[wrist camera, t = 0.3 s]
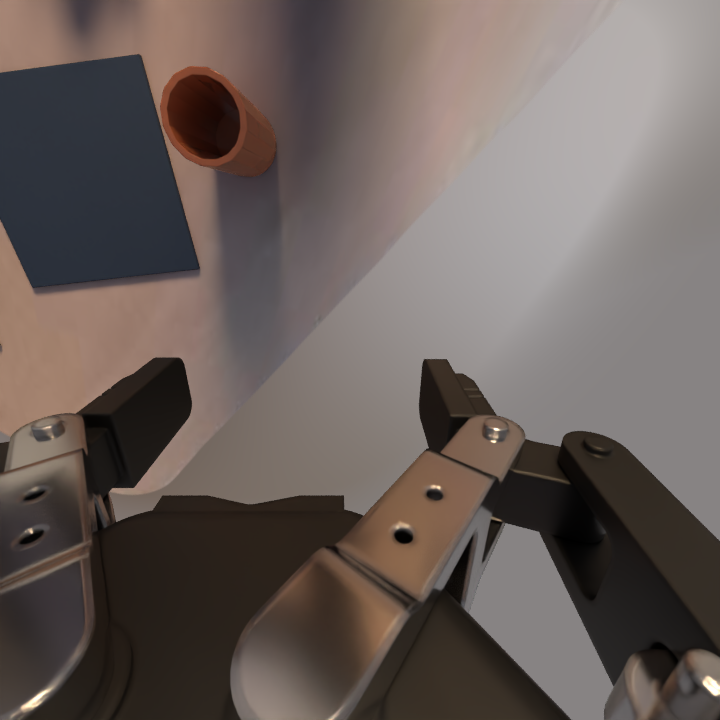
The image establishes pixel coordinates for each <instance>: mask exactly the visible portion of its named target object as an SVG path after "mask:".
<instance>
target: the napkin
mask: <svg viewBox="0 0 720 720" xmlns="http://www.w3.org/2000/svg"><path fill="white" fill-rule="evenodd" d="M0 219H1V221H2V223H3V225H4V228H5V230H6V232H7V234H8V236H9V238H10V241H11V243H12V245H13V247H14V249H15V251H16V253H17V256H18V258H19V260H20V262H21V264H22V266H23V269H24V271H25V273H26V275H27V277H28V279H29V281H30V284H31V286H32V287H42V286H51V285H60V284H69V283H78V282H87V281H96V280H105V279H113V278H122V277H131V276H140V275H149V274H158V273H167V272H176V271H185V270H193V269H199V268H200V267H199V263H198V260H197V256H196V253H195V249H194V245H193V242H192V238H191V234H190V231H189V227H188V224H187V220H186V216H185V213H184V209H183V206H182V202H181V198H180V195H179V191H178V187H177V184H176V180H175V177H174V173H173V169H172V166H171V162H170V158H169V155H168V151H167V148H166V144H165V140H164V137H163V133H162V130H161V126H160V122H159V119H158V115H157V111H156V108H155V104H154V101H153V97H152V93H151V90H150V86H149V82H148V79H147V75H146V72H145V68H144V64H143V61H142V57H141V55H139V54H137V55H129V56H122V57H115V58H107V59H100V60H92V61H85V62H77V63H70V64H62V65H55V66H47V67H40V68H32V69H25V70H17V71H10V72H2V73H0Z"/></svg>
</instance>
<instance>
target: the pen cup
mask: <svg viewBox="0 0 720 720" xmlns="http://www.w3.org/2000/svg"><path fill="white" fill-rule="evenodd" d="M160 109H161V116H162V122H163V127H164V129H165V131H166V133H167V135H168V137H169V139H170V141H171V143H172V145H173V146H174V147H175V148H176V149H177V150H178V151H179V152H180V153H181V154H182V155H183V156H184V157H185V158H186V159H188V160H190V161H192V162H194V163H196V164H198V165H200V166H204V167H208V168H212V169H215V170H219V171H223V172H227V173H231V174H235V175H238V176H245V177H253V176H257V175H260V174H262V173H263V172H265V171H266V170H267V169H268V168H269V167H270V165H271V164H272V162H273V160H274V157H275V154H276V138H275V134H274V131H273V128H272V126H271V124H270V123H269V121H268V120H267V119H266V117H265V116H264V115H263V114H262V113H261V112H260V111H259V110H258V109H257V108H256V107H255V106H254V105H253V104H252V103H251V102H250V101H249V100H248V99H247V98H246V97H245V96H244V95H243V94H242V93H241V92H240V91H239V90H238V89H237V88H236V87H235V86H234V85H233V84H232V83H231V82H230V81H229V80H228V79H227V78H226V77H224V76H223V75H221V74H219V73H218V72H216V71H214V70H212V69H210V68H208V67H195V66H190V67H187V68H185V69H183V70H181V71H179V72H177V73H175V74H174V75H173V76H172V77H171V79H170V80H169V82H168V83H167V85H166V86H165V87H164V90H163V95H162V100H161V105H160Z"/></svg>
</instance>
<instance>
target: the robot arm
mask: <svg viewBox="0 0 720 720" xmlns="http://www.w3.org/2000/svg"><path fill="white" fill-rule="evenodd" d="M191 408H192V400H191V395H190V390H189V385H188V380H187V375H186V370H185V366H184V363H183V361H182V359H180V358H153V359H152V360H151V361H149V362H148V363H147V364H146V365H144V366H143V367H142V368H140V369H139V370H138V371H136V372H135V373H134V374H132V375H130V376H127V377H125V378H123V379H121V380H120V381H119V382H117V383H116V384H115V385H113V386H112V387H111V389H108V390H107V391H105V392H104V393H103V394H102V396H99V397H97V398H96V399H95V400H93V401H92V402H91V403H89V404H88V405H87V406H85V407H84V408H83V409H81V410H80V411H79V412H77V413H76V414H72V413H65V414H57V415H52V416H48V417H44V418H41V419H38V420H35V421H33V422H30V423H28V424H26V425H24V426H23V427H21V428H20V429H18V430H17V431H16V432H14V433H13V435H12V436H11V438H10V442H4V443H0V720H571V719H570V718H569V717H568V716H567V715H566V714H565V713H564V711H563V710H562V709H561V708H560V707H559V706H558V705H557V704H556V703H555V702H554V701H553V700H552V699H551V698H550V697H549V696H548V695H547V694H546V693H545V692H544V691H543V690H542V689H541V688H540V687H539V686H538V685H537V684H536V683H535V682H534V681H533V679H532V678H531V677H530V676H529V675H528V674H527V673H526V672H525V671H524V670H523V669H522V668H521V667H520V666H519V665H518V664H517V663H516V662H515V661H514V660H513V659H512V658H511V657H510V656H509V655H508V654H507V653H506V652H505V651H504V650H503V649H502V648H501V646H500V645H499V644H498V643H497V642H496V641H495V640H494V639H493V638H492V637H491V636H490V635H489V634H488V633H487V632H486V631H485V630H484V629H483V628H482V627H481V626H480V625H479V624H478V623H477V622H476V621H475V620H474V619H473V618H472V617H471V616H470V614H469V610H470V608H471V605H472V602H473V599H474V596H475V593H476V590H477V587H478V584H479V581H480V579H481V576H482V574H483V571H484V569H485V567H486V565H487V563H488V561H489V558H490V556H491V554H492V552H493V550H494V548H495V546H496V543H497V541H498V539H499V537H500V535H501V533H502V530H503V528H504V526H505V523H508V524H512V525H516V526H519V527H523V528H527V529H531V530H535V531H539V532H540V535H541V537H542V539H543V541H544V543H545V545H546V547H547V549H548V551H549V553H550V556H551V558H552V560H553V562H554V564H555V566H556V568H557V570H558V572H559V574H560V576H561V578H562V580H563V582H564V584H565V587H566V589H567V591H568V593H569V595H570V597H571V599H572V601H573V603H574V605H575V607H576V609H577V612H578V614H579V616H580V618H581V620H582V622H583V624H584V626H585V628H586V630H587V632H588V634H589V636H590V639H591V640H592V643H593V645H594V647H595V649H596V650H597V653H598V655H599V657H600V659H601V661H602V663H603V666H604V668H605V670H606V672H607V674H608V676H609V678H610V680H611V682H612V684H613V686H614V688H613V690H612V692H611V694H610V695H609V697H608V699H607V702H606V704H605V709H604V720H720V541H719V540H718V539H717V538H716V537H715V536H714V535H713V534H712V533H711V532H710V531H709V530H708V529H707V528H706V527H705V526H704V525H703V524H702V523H701V522H700V521H699V520H698V519H697V518H696V517H695V516H694V515H693V514H692V513H691V512H690V511H689V510H688V509H687V508H686V507H685V506H684V505H683V504H682V503H681V502H680V501H679V500H678V499H677V498H676V497H675V496H674V495H673V494H672V493H671V492H670V491H669V490H668V489H667V488H666V487H665V486H664V485H663V484H662V483H661V482H660V481H659V480H658V479H657V478H656V477H655V476H654V475H653V474H652V473H651V472H650V471H649V470H648V469H647V468H645V466H644V465H643V464H642V463H641V462H640V461H639V460H638V459H637V458H636V457H635V456H634V455H633V454H632V453H630V451H629V450H628V449H626V448H625V447H624V446H623V445H621V444H620V443H618V442H616V441H615V440H612V439H610V438H608V437H606V436H603V435H600V434H596V433H592V432H586V431H575V432H570V433H567V434H566V435H565V436H564V437H563V440H562V444H561V447H559V446H554V445H549V444H543V443H538V442H533V441H530V440H527V439H525V433H524V430H523V429H522V428H521V427H520V426H519V425H518V424H516V423H515V422H513V421H511V420H509V419H506V418H504V417H500V416H497V415H496V414H495V412H494V411H493V409H492V408H491V406H490V404H489V403H488V402H487V400H486V398H484V395H483V394H482V392H481V391H479V388H478V386H477V385H476V383H475V382H474V381H473V380H472V379H470V378H469V377H467V376H466V375H464V374H455V372H454V371H453V369H452V367H451V366H450V364H449V362H448V360H447V359H424V361H423V366H422V377H421V387H420V399H419V413H420V419H421V423H422V426H423V429H424V433H425V436H426V439H427V443H428V447H429V448H428V449H426V450H425V451H424V452H423V453H422V454H421V455H420V456H419V457H418V458H417V459H416V460H415V462H413V463H412V464H411V466H410V467H409V468H408V469H407V470H406V471H405V472H404V473H403V474H402V475H401V476H400V477H399V478H398V480H397V481H396V482H395V483H394V484H393V485H392V486H391V487H390V488H389V489H388V490H387V491H386V492H385V493H384V494H383V496H382V497H381V498H380V499H379V500H378V501H377V502H376V503H375V504H374V505H373V506H372V507H371V508H370V509H369V511H368V512H367V513H366V514H365V515H364V516H363V515H361V514H358V513H354V512H352V511H348V510H344V496H295V497H290V498H284V499H280V500H274V501H269V502H264V503H258V504H249V505H248V504H243V503H239V502H234V501H229V500H225V499H221V498H216V497H211V496H162V497H161V499H160V500H159V502H158V503H157V505H156V506H155V508H154V509H153V510H152V511H148V512H144V513H141V514H137V515H134V516H131V517H128V518H125V519H123V520H121V521H118V522H116V520H115V515H114V509H113V504H112V501H111V498H110V495H109V491H110V490H111V489H112V488H134V487H135V486H136V485H137V483H138V482H139V481H140V479H141V478H142V477H143V476H144V474H145V473H146V472H147V470H148V469H149V468H150V467H151V465H152V464H153V463H154V461H155V460H156V459H157V458H158V456H159V455H160V454H161V453H162V451H163V450H164V449H165V447H166V446H167V445H168V444H169V442H170V441H171V440H172V438H173V437H174V436H175V435H176V433H177V432H178V431H179V429H180V428H181V427H182V426H183V424H184V423H185V422H186V420H187V419H188V418H189V416H190V413H191Z"/></svg>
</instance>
